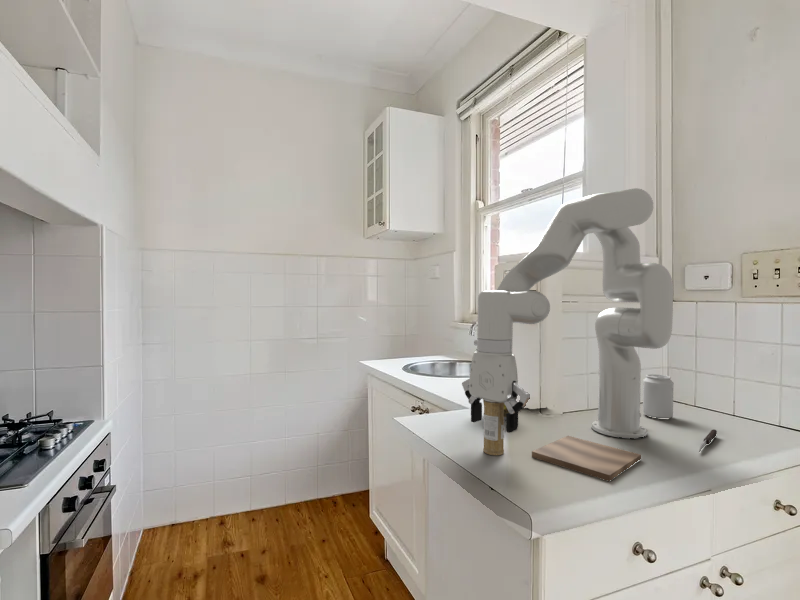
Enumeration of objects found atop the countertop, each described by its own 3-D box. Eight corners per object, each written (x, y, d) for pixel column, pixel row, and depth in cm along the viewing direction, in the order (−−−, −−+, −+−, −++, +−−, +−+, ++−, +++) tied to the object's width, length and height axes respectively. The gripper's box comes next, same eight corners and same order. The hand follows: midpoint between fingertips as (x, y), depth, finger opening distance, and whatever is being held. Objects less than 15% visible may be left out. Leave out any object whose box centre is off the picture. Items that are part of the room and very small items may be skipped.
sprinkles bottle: (508, 453, 93) (509, 391, 92) (493, 457, 90) (494, 394, 90) (493, 447, 96) (493, 387, 96) (478, 451, 94) (479, 390, 94)
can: (679, 420, 119) (679, 378, 119) (652, 420, 119) (652, 377, 119) (662, 413, 127) (663, 373, 127) (637, 413, 127) (638, 372, 127)
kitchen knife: (712, 437, 106) (712, 429, 106) (716, 438, 105) (716, 429, 105) (695, 455, 93) (695, 446, 93) (701, 456, 92) (701, 447, 92)
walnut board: (567, 440, 101) (567, 435, 101) (641, 460, 89) (641, 454, 89) (531, 456, 91) (531, 451, 91) (609, 481, 79) (609, 475, 79)
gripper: (453, 344, 97) (451, 420, 97) (519, 352, 84) (518, 439, 84) (473, 342, 102) (472, 414, 102) (539, 349, 89) (538, 432, 89)
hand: (493, 425), depth 93 cm, fingers open, 8 cm apart
